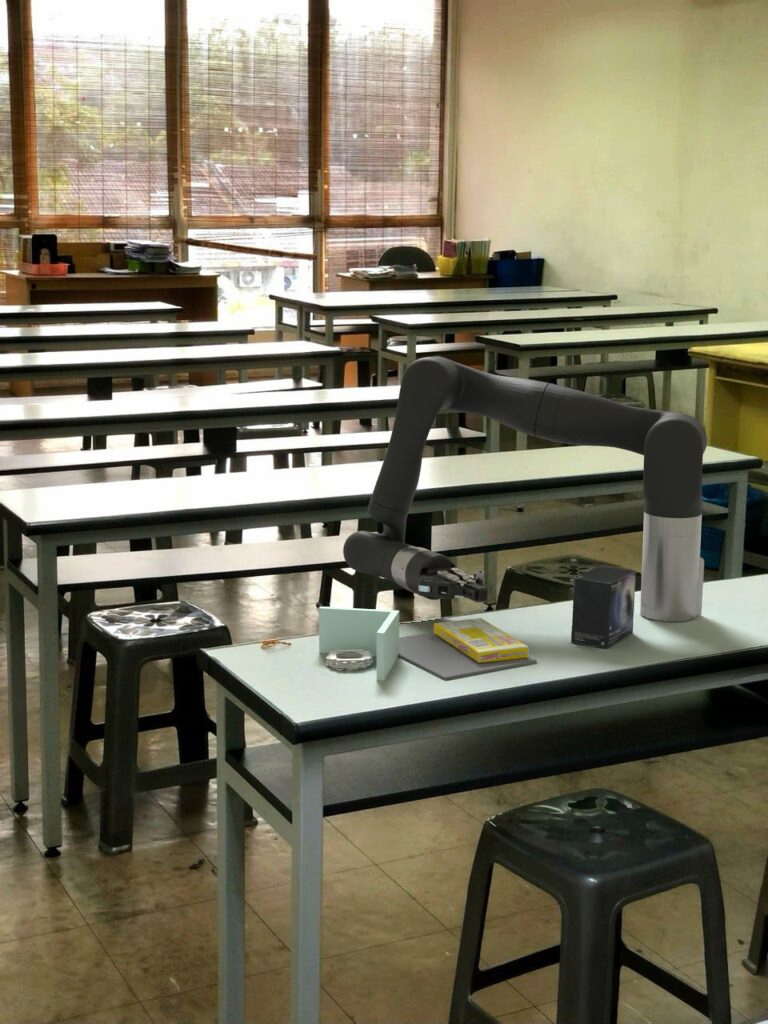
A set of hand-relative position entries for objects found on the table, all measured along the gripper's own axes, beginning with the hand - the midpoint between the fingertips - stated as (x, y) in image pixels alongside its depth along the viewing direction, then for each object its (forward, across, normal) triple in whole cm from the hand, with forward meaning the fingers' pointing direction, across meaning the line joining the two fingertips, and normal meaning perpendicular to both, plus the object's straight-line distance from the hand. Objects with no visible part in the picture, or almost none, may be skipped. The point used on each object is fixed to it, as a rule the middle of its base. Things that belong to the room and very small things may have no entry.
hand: (483, 595), depth 204 cm
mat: (+4, -8, +7) cm, 11 cm away
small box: (+9, +17, +7) cm, 20 cm away
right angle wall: (+1, -24, +8) cm, 25 cm away
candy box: (+5, +1, +6) cm, 7 cm away
